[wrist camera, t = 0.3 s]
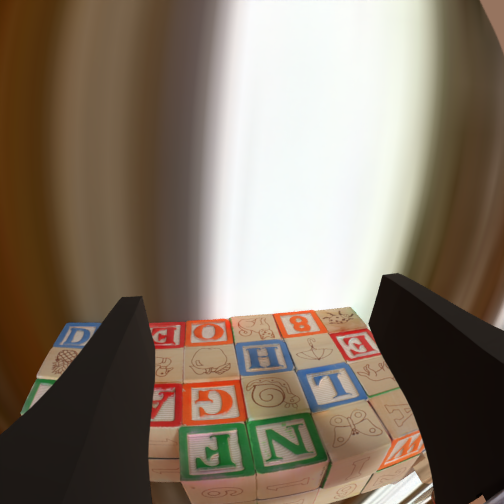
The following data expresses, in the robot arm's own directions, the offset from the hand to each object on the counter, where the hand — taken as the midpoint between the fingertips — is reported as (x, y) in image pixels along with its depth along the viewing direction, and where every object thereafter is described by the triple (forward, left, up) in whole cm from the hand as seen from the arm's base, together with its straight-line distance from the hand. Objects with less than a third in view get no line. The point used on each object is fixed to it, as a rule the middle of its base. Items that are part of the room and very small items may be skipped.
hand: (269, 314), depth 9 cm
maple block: (-19, -45, -10) cm, 50 cm away
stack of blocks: (-10, -3, -11) cm, 15 cm away
